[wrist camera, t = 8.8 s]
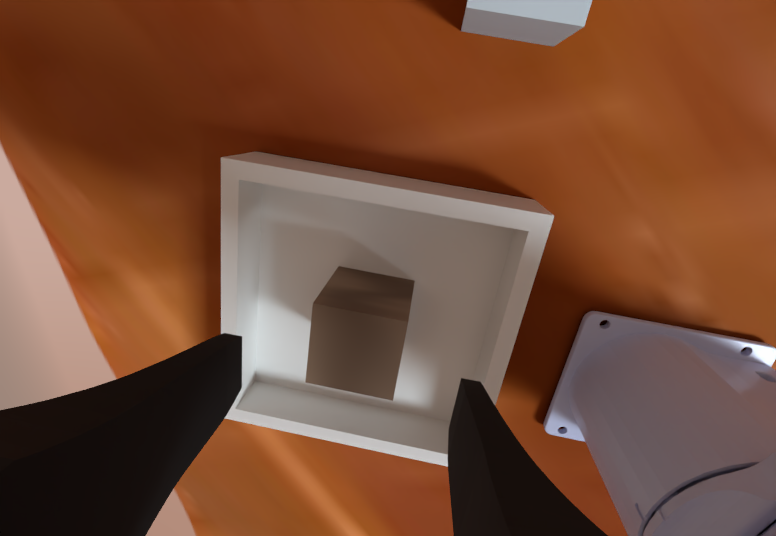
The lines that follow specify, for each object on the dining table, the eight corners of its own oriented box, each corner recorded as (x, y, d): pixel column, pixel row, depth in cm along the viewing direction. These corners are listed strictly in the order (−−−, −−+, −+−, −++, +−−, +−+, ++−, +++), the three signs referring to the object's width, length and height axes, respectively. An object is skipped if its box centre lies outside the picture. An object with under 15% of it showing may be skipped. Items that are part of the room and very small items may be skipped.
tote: (534, 199, 19) (554, 215, 16) (469, 425, 24) (474, 472, 21) (256, 151, 20) (221, 157, 17) (249, 378, 25) (221, 417, 22)
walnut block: (414, 280, 20) (408, 321, 16) (401, 346, 22) (392, 400, 18) (338, 266, 21) (312, 303, 16) (330, 332, 22) (305, 382, 18)
